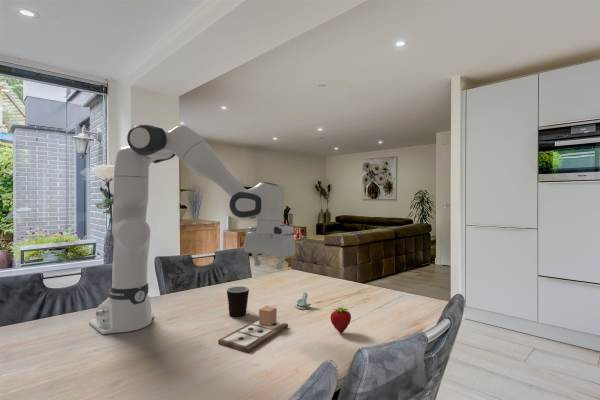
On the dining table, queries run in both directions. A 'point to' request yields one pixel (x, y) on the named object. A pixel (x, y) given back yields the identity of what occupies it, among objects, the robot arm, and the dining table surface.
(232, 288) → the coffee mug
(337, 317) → the strawberry
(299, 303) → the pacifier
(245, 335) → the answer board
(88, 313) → the dining table surface
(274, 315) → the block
